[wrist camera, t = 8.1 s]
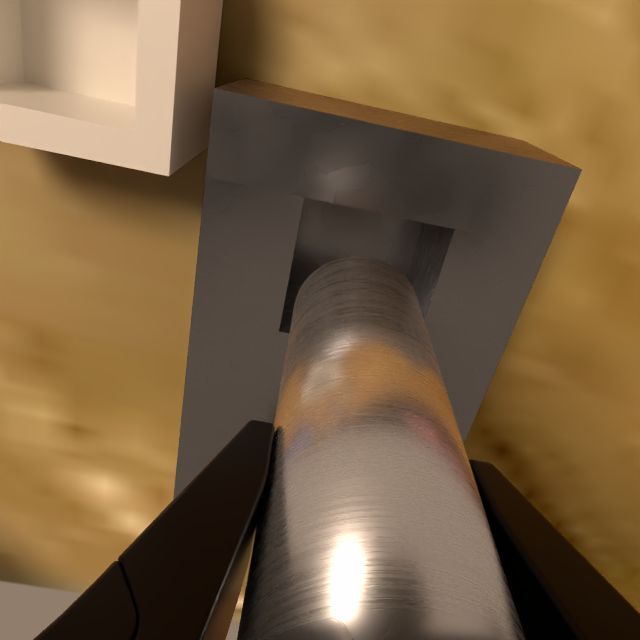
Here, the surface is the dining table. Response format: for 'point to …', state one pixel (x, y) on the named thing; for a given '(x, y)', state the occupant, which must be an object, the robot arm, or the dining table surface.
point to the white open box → (110, 78)
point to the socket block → (354, 242)
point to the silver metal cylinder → (370, 481)
